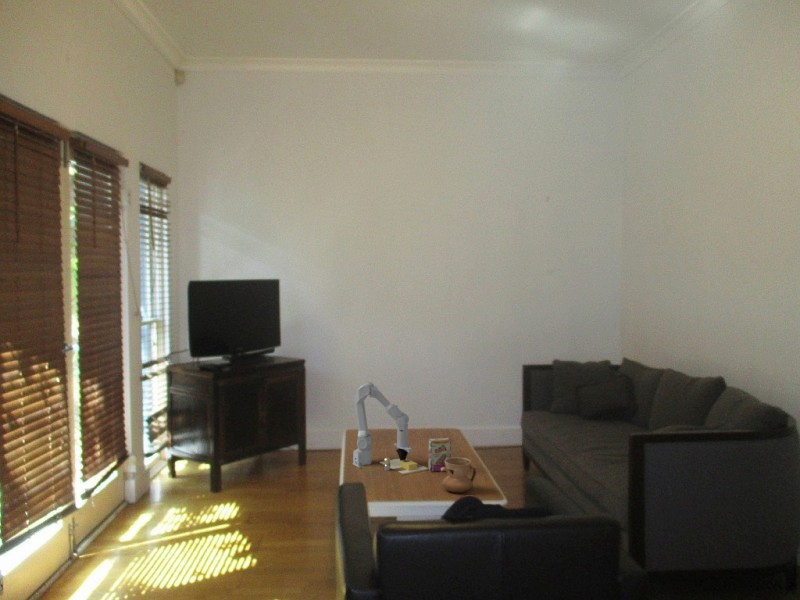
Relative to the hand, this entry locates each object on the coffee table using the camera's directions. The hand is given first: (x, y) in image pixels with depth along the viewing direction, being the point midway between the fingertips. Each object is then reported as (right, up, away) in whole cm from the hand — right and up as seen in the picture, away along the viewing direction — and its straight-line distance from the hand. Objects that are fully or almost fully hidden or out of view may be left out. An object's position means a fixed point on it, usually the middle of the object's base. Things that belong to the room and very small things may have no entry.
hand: (402, 462), depth 359 cm
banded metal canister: (-8, -3, -8) cm, 11 cm away
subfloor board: (0, -2, 0) cm, 2 cm away
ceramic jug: (+26, -4, -37) cm, 46 cm away
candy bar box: (+19, -3, -6) cm, 20 cm away
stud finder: (+3, -1, -5) cm, 6 cm away
